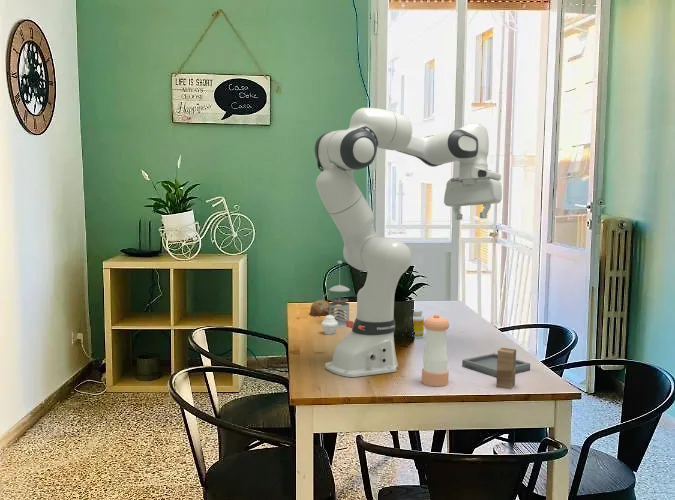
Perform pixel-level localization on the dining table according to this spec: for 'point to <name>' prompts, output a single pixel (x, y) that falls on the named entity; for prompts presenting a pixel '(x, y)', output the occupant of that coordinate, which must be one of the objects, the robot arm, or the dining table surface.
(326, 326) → the muffin
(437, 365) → the pepper shaker
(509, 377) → the walnut block
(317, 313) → the bread roll
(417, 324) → the supplement bottle
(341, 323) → the french press
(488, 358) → the tray
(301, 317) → the dining table surface
